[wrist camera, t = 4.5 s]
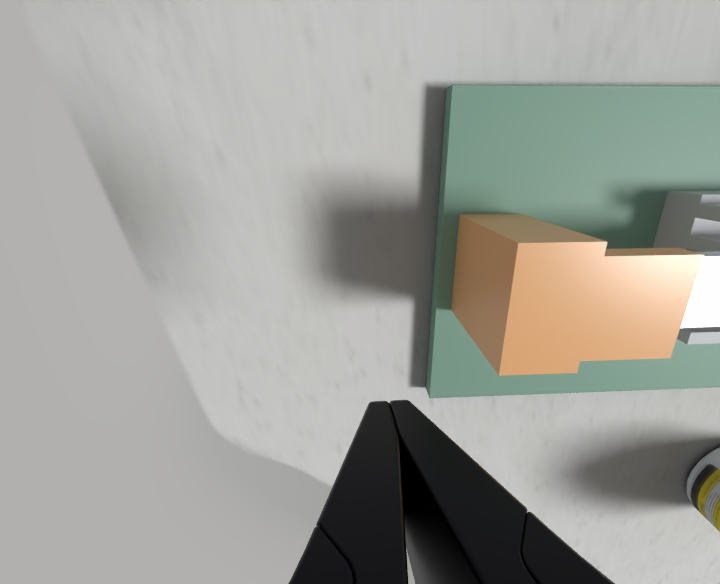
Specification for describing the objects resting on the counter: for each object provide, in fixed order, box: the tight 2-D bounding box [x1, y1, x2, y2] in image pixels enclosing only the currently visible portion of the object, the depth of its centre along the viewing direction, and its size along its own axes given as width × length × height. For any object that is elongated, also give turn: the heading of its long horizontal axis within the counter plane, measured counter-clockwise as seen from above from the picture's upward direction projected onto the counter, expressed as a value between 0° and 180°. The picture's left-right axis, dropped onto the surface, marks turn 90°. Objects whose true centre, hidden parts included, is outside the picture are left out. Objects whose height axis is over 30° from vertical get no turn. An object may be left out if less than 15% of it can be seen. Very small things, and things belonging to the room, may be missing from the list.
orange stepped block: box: [451, 214, 704, 376], centre depth 16 cm, size 6×5×6 cm
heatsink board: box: [426, 85, 720, 398], centre depth 17 cm, size 23×16×6 cm
